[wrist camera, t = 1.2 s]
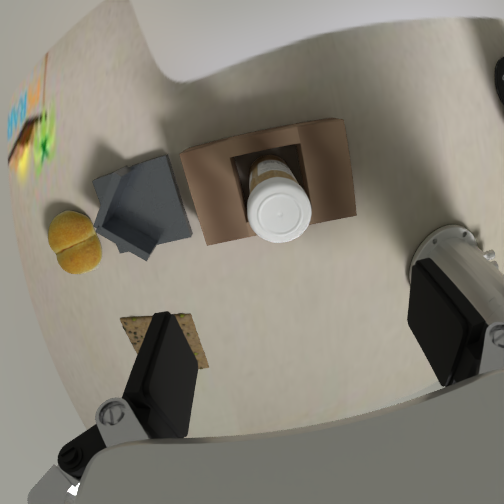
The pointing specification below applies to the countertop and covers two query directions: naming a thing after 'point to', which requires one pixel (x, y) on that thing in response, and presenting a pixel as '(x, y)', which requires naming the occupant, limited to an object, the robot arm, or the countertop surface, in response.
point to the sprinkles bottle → (276, 201)
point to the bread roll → (75, 242)
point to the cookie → (139, 326)
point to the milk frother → (500, 78)
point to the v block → (141, 207)
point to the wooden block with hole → (301, 134)
